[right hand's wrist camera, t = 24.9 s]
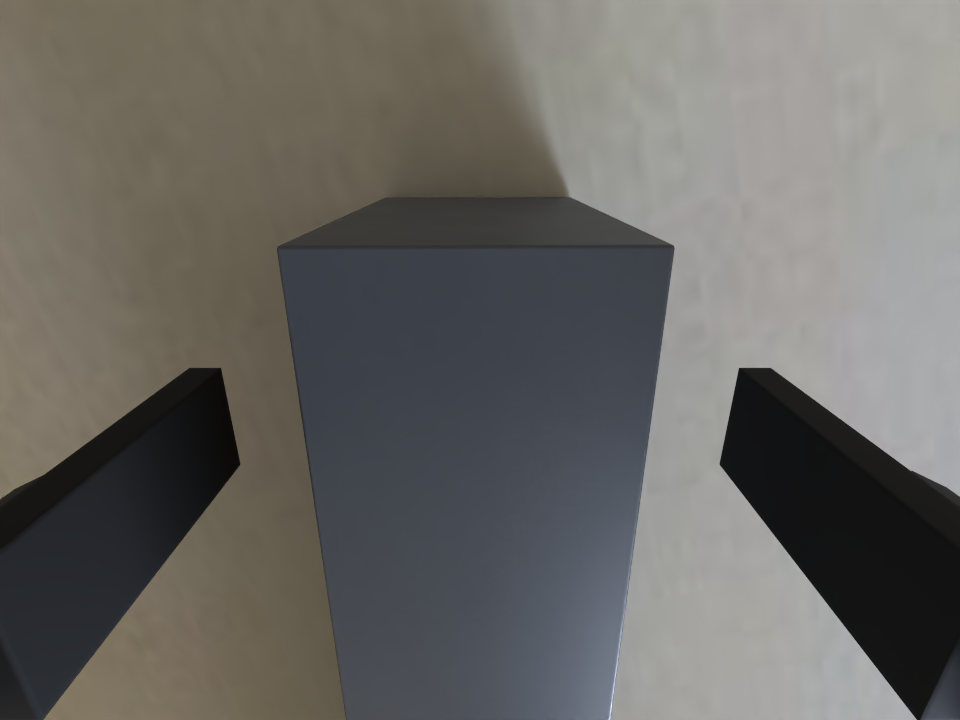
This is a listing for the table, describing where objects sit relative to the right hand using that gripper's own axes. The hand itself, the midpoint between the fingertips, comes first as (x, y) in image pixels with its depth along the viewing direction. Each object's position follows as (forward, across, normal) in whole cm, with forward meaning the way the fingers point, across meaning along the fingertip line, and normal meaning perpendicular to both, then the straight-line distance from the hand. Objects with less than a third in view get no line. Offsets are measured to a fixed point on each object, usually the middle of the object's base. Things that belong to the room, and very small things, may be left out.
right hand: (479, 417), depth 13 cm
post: (+4, 0, -20) cm, 21 cm away
